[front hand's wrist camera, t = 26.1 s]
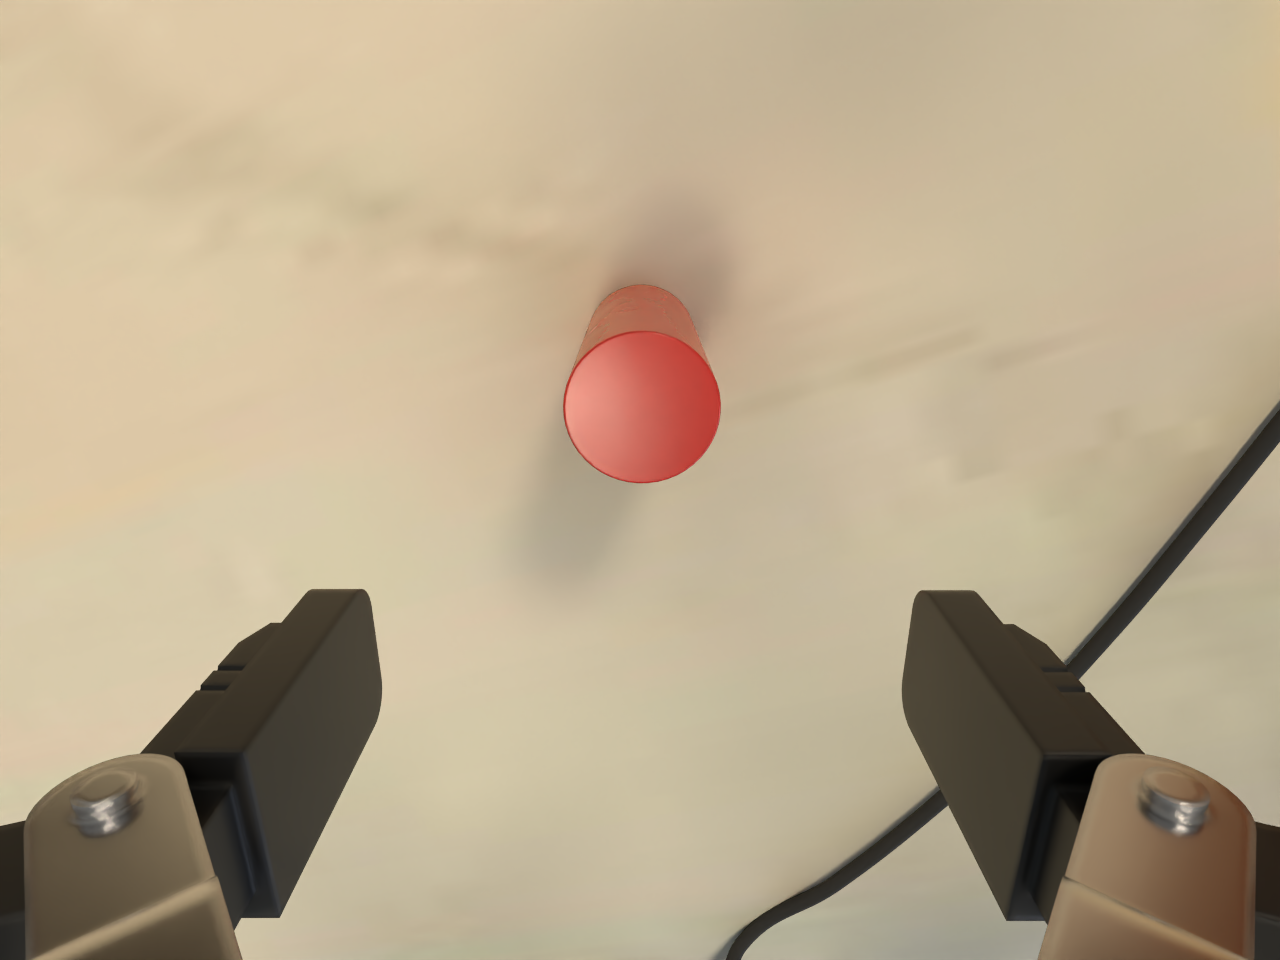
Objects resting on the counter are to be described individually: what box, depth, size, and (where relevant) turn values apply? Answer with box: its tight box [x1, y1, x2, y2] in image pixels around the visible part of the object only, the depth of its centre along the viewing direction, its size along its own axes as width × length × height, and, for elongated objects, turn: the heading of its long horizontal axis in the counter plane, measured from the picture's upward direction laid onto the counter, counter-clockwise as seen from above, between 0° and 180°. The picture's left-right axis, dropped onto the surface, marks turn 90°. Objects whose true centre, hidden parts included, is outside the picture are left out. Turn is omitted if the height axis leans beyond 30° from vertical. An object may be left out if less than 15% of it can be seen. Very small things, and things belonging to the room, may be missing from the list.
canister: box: [563, 285, 721, 483], centre depth 30 cm, size 5×5×12 cm
